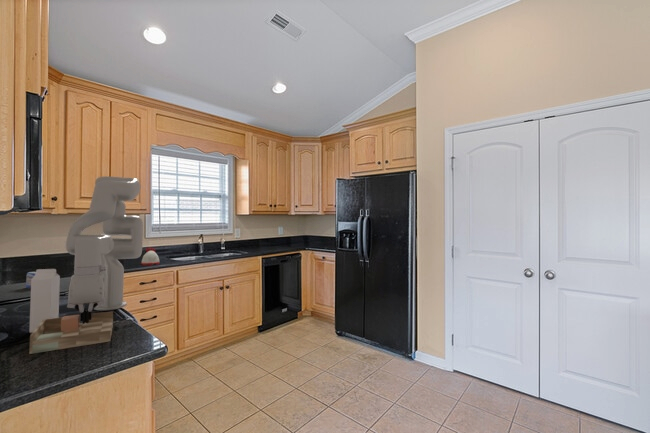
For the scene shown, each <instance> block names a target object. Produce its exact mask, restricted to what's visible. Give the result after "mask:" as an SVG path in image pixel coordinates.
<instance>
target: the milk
mask: <svg viewBox="0 0 650 433" xmlns="http://www.w3.org/2000/svg"><path fill="white" fill-rule="evenodd" d="M35 272H36V274H35V276H34V277H33V278H32V279H31V288H30V308H29V333H33V332H34V330H35V329H36V328H37V327H38V326H39V324H40V323H41V322H42V321H43V320H44V319H51V318H60V316H59V315H60V312H59V310H60V287H61V286H60V284H61V283H60V282H61V279H60V278H61V275H60V274H58V273H57V269H56V268H45V269H44V268H43V269H42V268H39V269H36V270H35Z"/></svg>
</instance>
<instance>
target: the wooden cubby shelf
mask: <svg viewBox="0 0 650 433" xmlns="http://www.w3.org/2000/svg"><path fill="white" fill-rule="evenodd" d="M62 318H63V316H61V317H60V316H59V317H58V318H51V319H44V320H43V321H42V322H41V323H40V324H39V326H38V327H37V328H36V329H35V330H34V332H31V333H30V336H29V352H28V353H29V355H30V354H32V355H33V354H37V353H44V352H49V351H51V352H53V351H55V350H56V351H58V350H63V349H69V348H75V347H76V348H77V347H83V346H88V345H95V344H101V343H107V342H111V339H112V332H113V327H114V325H113V324H114V323H113V322H114V310H113V311H112V310H111V311H103V312H97V313H96V312H95V313H92V317H91V320H89V323H85V324H83V322H80V326H79V328H78V329H76V330H70V331H64V332H61V319H62Z"/></svg>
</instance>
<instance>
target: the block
mask: <svg viewBox="0 0 650 433" xmlns="http://www.w3.org/2000/svg"><path fill="white" fill-rule="evenodd" d="M80 323H81V313H80V314H79V313H78V314H73V315H72V314H71V315H64V316H62V319H61V332H64V331H70V330H76V329H78V328H79V326H80Z"/></svg>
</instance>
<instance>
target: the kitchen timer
mask: <svg viewBox="0 0 650 433" xmlns="http://www.w3.org/2000/svg"><path fill="white" fill-rule="evenodd" d="M145 251H146V253H145V254H144V255H143V256H142V259H141V263H140V264H141V265H143V266H154V265H153V264H156V265H159V264H160V257H159V255H158V254H157V253H156V251H157V249H155V248H153V247H146V249H145Z"/></svg>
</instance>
